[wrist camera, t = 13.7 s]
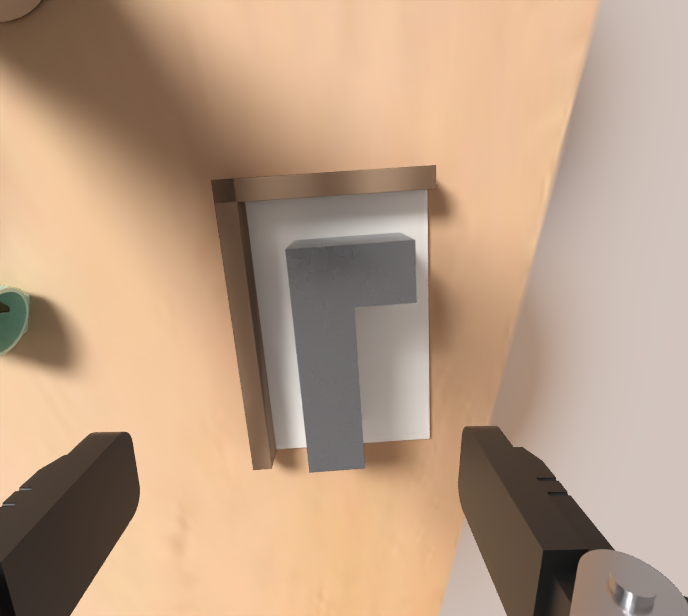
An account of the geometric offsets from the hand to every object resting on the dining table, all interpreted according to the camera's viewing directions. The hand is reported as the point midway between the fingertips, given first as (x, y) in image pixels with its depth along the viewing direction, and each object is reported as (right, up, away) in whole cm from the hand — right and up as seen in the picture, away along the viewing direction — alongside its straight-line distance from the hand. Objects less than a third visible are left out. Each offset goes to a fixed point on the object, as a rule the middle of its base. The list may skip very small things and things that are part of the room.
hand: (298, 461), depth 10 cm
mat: (+1, +2, +23) cm, 23 cm away
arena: (0, +2, +23) cm, 23 cm away
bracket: (+2, +1, +23) cm, 23 cm away
